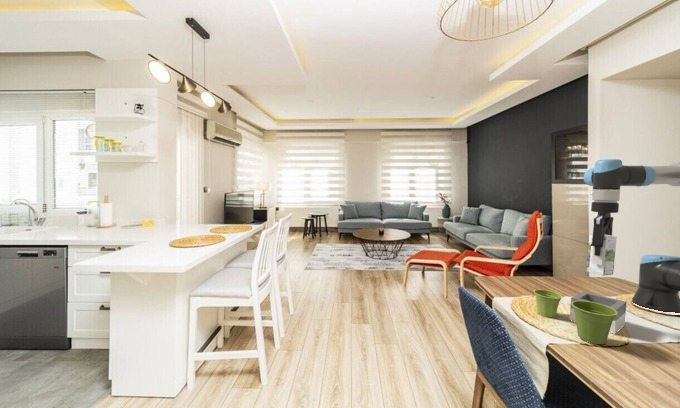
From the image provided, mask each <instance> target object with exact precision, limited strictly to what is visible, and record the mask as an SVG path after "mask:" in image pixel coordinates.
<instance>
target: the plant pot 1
mask: <svg viewBox="0 0 680 408" xmlns="http://www.w3.org/2000/svg"><path fill="white" fill-rule="evenodd" d="M533 293H534V296H535V301H536V312H538V313H537V314H539V315H540V316H542V315H543V316H542V317H545V316H546V317H545V318H556V317H555V316H557V311H558V309H559V308H558V307H559V304H560V302H561V299H563V295H561V294H560V293H558V292H555V291H552V290H549V289H548V290H547V289H534V290H533Z"/></svg>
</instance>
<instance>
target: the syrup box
mask: <svg viewBox="0 0 680 408" xmlns="http://www.w3.org/2000/svg"><path fill="white" fill-rule="evenodd" d="M588 237H589V238H588V247H587V248H588V249H587V260H586V270H585V271H586V272H587V273H591V274H594V275H599V276H603V277H604V276H609V275H610V276H611V275H614V269H615V259H616V248H617V239H618V238H617V236H614V235H612V236H611V235H605V236H604V242H603V247H604V251H603V265H598V264H592V262H593V248H594V246H591V244H592V237H593V234H589V236H588ZM598 243H599V242H598Z"/></svg>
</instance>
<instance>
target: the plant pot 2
mask: <svg viewBox="0 0 680 408" xmlns="http://www.w3.org/2000/svg"><path fill="white" fill-rule="evenodd" d="M571 305H572V306H573V309H574V312H575V318H576V331H577V332H576V333H577V336H579V337H580V338H581V340H582V339H583V341H585V342H587V341H588V342H587V343H589V342H590V343H589V344H591V343H594V344H593V345H597V344H603V345H604V344H605V345H606V343H607V341H608V338H609V334H610V333H609V331H610V328H611V325H612V322H613V321H614V318H615V316H616V315H617V314H618V312H617V311H616V310H615V309H613V308H611V307H609V306H606V305H603V304H599V303H595V302H590V301H573V302H571V301H570V306H571ZM579 337H578V338H579ZM580 338H579V339H580Z"/></svg>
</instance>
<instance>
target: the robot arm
mask: <svg viewBox="0 0 680 408" xmlns="http://www.w3.org/2000/svg"><path fill="white" fill-rule="evenodd" d="M583 181H584V183H585V184H586V185H587V186H590V187H591V186H592V191H591V192H590V195H591V197H592V198H591V199H592V202H591V208H590V210H591V212H593V213H597V216H595V218H593V230H592V235H593V237H592V244H591V246H594V248H593V262H592V264H598V265H603V251H604V247H603V242H604V236H605V235H611V236H613V224H614V219H615V218H614V217H613V216H612V214H617V213H619V209H620V207H619V205H620V204H619V201H620V197H621V194H620V193H621V187H647V186H650V185H669V186H671V187H680V162H673V163H670V164H668V165H643V164H641V165H623V161H622V160H621V159H616V158H613V159H612V158H611V159H610V158H609V159H608V158H607V159H598V160H596V161H595V162H594V167H593V168H590V169H587V170H586V171H585V172H584V174H583ZM598 242H599V243H598ZM638 277H639V278H638V288H637V289H636V291H635V293H634V295H633V296H632V298H631V303H632V302H633V303H635V304H637V305H639V306H642V307H645V308H649V309H654V310H658V311H663V312H675V313H680V295H679V293H680V256H675V255H674V256H673V255H665V254H664V255H663V254H662V255H661V254H645V255H642V256H641V257H640V262H639V276H638Z"/></svg>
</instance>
